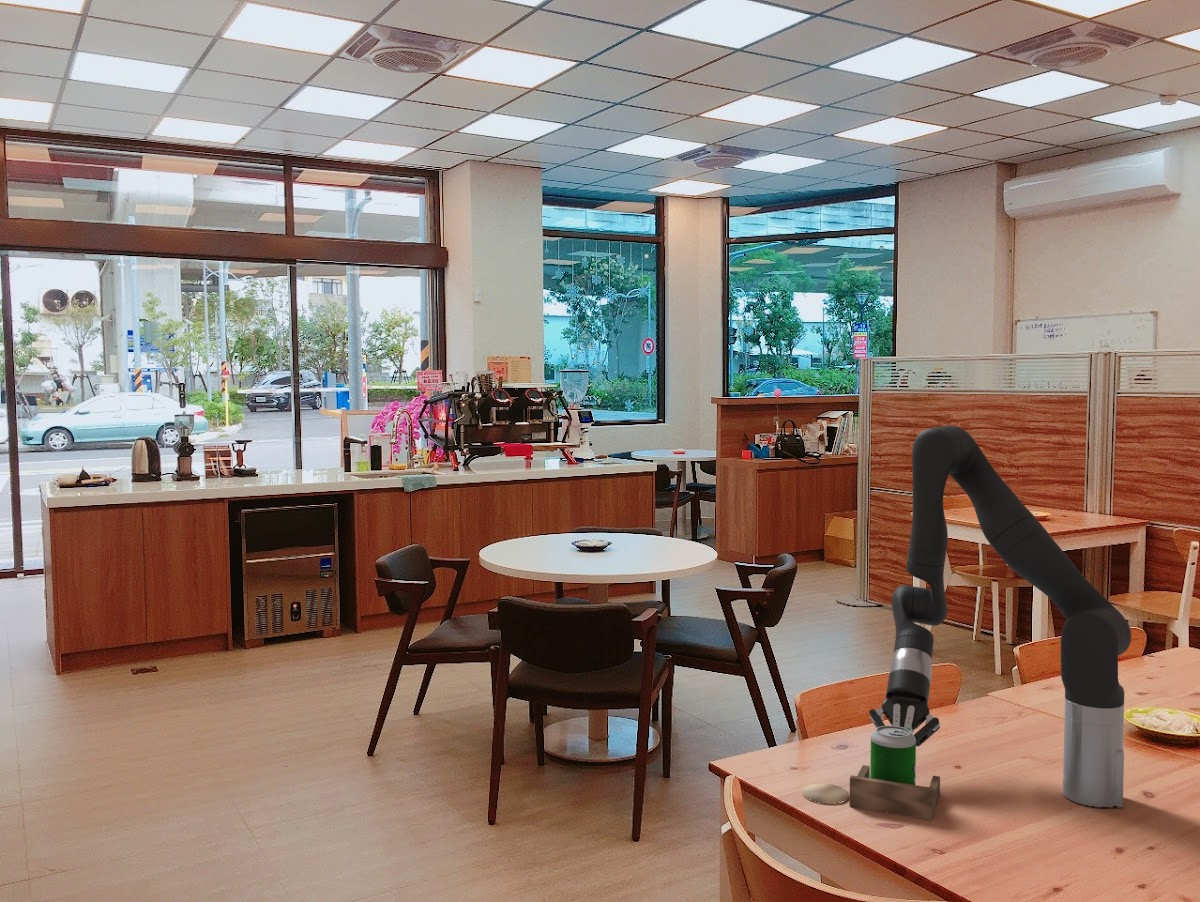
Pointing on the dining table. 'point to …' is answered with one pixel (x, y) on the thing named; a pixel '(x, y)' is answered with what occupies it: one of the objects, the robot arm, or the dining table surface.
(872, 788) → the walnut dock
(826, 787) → the beige domed disc
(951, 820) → the dining table surface
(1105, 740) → the robot arm
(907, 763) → the soda can
